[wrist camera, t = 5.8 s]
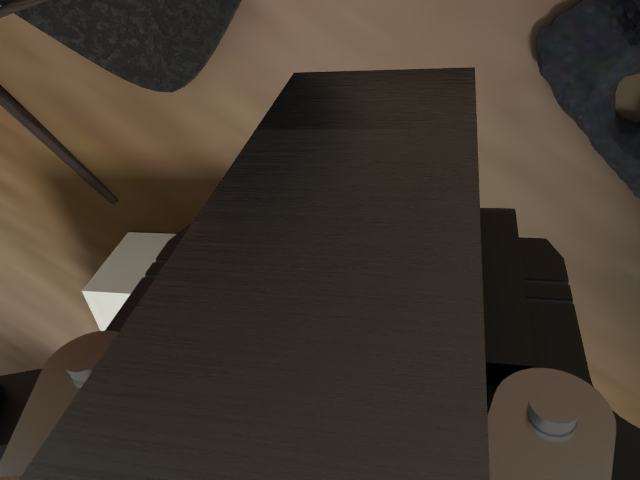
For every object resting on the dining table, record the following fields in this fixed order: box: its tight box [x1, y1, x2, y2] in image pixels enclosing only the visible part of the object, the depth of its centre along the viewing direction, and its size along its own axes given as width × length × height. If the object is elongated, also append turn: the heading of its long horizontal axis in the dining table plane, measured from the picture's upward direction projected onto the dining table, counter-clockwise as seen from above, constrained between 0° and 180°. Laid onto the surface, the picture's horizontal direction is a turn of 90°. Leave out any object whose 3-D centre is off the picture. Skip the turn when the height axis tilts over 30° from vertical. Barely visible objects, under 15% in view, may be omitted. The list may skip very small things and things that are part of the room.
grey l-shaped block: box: [19, 68, 490, 480], centre depth 10 cm, size 4×8×11 cm, turn 7°
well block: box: [82, 232, 176, 331], centre depth 34 cm, size 14×18×5 cm
